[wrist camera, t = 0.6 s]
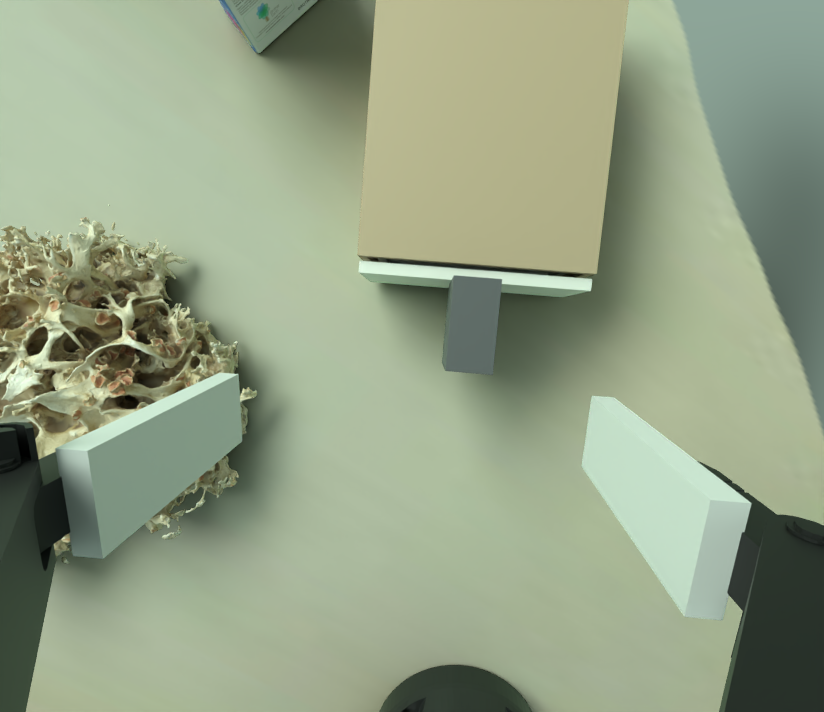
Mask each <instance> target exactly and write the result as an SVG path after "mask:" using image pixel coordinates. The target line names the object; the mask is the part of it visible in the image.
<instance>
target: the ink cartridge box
mask: <svg viewBox="0 0 824 712" xmlns="http://www.w3.org/2000/svg"><path fill="white" fill-rule="evenodd" d="M219 1H220V3H221V5H222V7H223V8H224V10H225V12H226V14H227V15H228V16H229V18H230V19H231V21H232V22H233V23H234V24H235V26H236V27H237V29H238V30H239V31H240V33H241V34H242V35H243V37H244V38H245V39H246V41H247V42H248V43H249V45H250V46H251V47H252V48H253V50H254V51H255V52H256V53H260V52H262V51H263V50H264V49H265V48H266V47H267V46H268V45H269V44H270V43H271V42H273V41H274V40H275V39H276V38H277V37H278V36H279V35H280V34H281V33H282V32H284V31H285V30H286V29H287V28H288V27H289V26H290V25H291V24H292V23H293V22H295V21H296V20H297V19H298V18H299V17H300V16H301V15H302V14H304V13H305V12H306V11H307V10H308V9H309V8H310V7H311V6H312V5H314V4H315V3H316V2H317V1H318V0H219Z"/></svg>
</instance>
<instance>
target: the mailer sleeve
mask: <svg viewBox="0 0 824 712" xmlns="http://www.w3.org/2000/svg"><path fill="white" fill-rule="evenodd" d="M628 3H629V0H376V5H375V19H374V33H373V46H372V60H371V74H370V88H369V102H368V116H367V129H366V143H365V157H364V171H363V185H362V199H361V212H360V226H359V240H358V254H357V255H358V256H359V257H360V258H361V259H362V260H363V261H371V262H380V261H379V260H378V259H377V258H383V259H396V260H409V261H421V262H434V263H447V264H460V265H472V266H485V267H498V268H511V269H523V270H536V271H549V272H562V273H568V274H565V275H563V276H561V277H574V278H585V277H588V276H591V275H595V274H597V268H598V260H599V251H600V243H601V234H602V226H603V217H604V208H605V200H606V191H607V183H608V174H609V166H610V157H611V149H612V140H613V131H614V123H615V114H616V106H617V97H618V89H619V80H620V72H621V63H622V54H623V46H624V37H625V29H626V20H627V12H628Z"/></svg>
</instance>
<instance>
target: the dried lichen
mask: <svg viewBox="0 0 824 712" xmlns="http://www.w3.org/2000/svg"><path fill="white" fill-rule="evenodd" d="M108 206H110V205H108ZM80 221H82V222H81V224H80V225H79V226H82V227H83V226H85V227H87V228H88V230H89V232H88V234H87V235H85V234H82V233H81V234H79V233H77V232H76V233H72V232H71V233H69V234H68V235H69V236H68V238H67V241H68V244H67V247H68V248H67V249H66V250H65V251H64V250H62V249H61V241H60V240H59V239H58V238H62V235H60V234H59V235H57V238H56V237H54V236H51V238H52V240H49V239H47V238H45V237H43V236H40V237H41V238H37V240H38V242H35V241H33V240H32V239H30V238H29V236H28V235H27V233H26V227H25V226H21V229H16V228H15V227H12V226H7V227H3V228H2V229H1V230H4V231H6V233H5V235H4V236H0V241H3V242H5V243H6V244H7V246H6V244H4V245H3V246H2V247H4V248H5V249H6V250H5V251H2V252H0V423H9V422H26V423H30V424H32V425H33V429H34V435H35V441H36V446H37V452H38V458H39V459H41V458H43V457H45V456H47V455H49V454H51V453H54V452H56V451H55V448H57V447H59V446H61V445H63V444H66V443H68V442H70V441H72V440H74V439H76V438H79V437H81V436H83V435H85V434H87V433H89V432H92V431H94V430H96V429H98V428H100V427H103V426H105V425H107V424H109V423H111V422H113V421H116V420H118V419H120V418H122V417H124V416H126V415H129V414H131V413H133V412H135V411H137V410H139V409H142V408H144V407H146V406H148V405H150V404H153V403H155V402H157V401H159V400H161V399H163V398H166V397H168V396H170V395H172V394H174V393H176V392H179V391H181V390H183V389H185V388H187V387H190V386H192V385H194V384H196V383H198V382H200V381H203V380H205V379H207V378H209V377H211V376H213V375H216V374H218V373H231V374H234V373H235V371H236V368H238V360H239V359H238V354H239V352H236V354H235V355H233V352H234V350H236V346H237V344H238V342H237V341H236V342H234V344H233V345H232V346H231V345H229V344H228V346H224V344H221V342H220V341H218V340H217V339H216V338H215V337H214V336H213V335H212V334H211V333H210V331H211V330H210V329H209V327H208V326H209V325H210V324H211V323H210V322H208V321H205V324H204V322H200V323H195V322H194V320H195V318H192V319H191V318H186V319H185V317H186V316H187V315H189V314H190V312H189V311H190V309H189V307H187V310H186V308H182V309H181V310H180V306H181V303H180V304H179V307H178V303H176V304H175V306H174V308H172V309H170V308H169V304H167V303H166V302H165V301H164V300H163V299H167V300H169V301H172V299H170V298H169V297H168V295H167V292H166V287H165V283H166V282H165V281H166V280H167V278H166V277H167V276H170V277H172V278H174V279H175V280H176V277H175V275H173V273H172V272H171V270H170V269H168V268H167V266H166V264H167V263H169V262H173V261H176V262H179V263H181V264H183V263H187V262H188V260H187V259H186V258H182V257H179V256H177V255H174V254H173V253H172V252H165V250H166V249H167V246H166V245H164V247H163V252H162V251H161V250H160V248H159V242H158V240H157V238H155V239H156V245H157V251H155V250H153V249H154V247H155V243H153V242H148V243H149V246H146V247H143V248H139V249H138V250H137V249H136V248H134V247H131V246H129V245H128V244H125V243H124V242H122V241H120V239H121V238H122V237H124V235H116V234H110V237H109V238H108V237H107V236H105V235H104V232H105V230H104V228H103V226H102V224H101V223H99V222H97V221H94V222H93V224H92V225H91V224H90V222H89V219H88V218H86V217H85V218H81V219H80ZM114 228H115V222H114V223H113V224H112V230H114ZM34 234H35V235H37V233H36V232H34ZM49 234H50V231H48V232H46V235H49ZM80 235H81V236H83V238H81V236H80ZM100 236H102V239H101V237H100ZM124 239H125V238H124ZM101 240H102V241H101ZM125 240H126V241H127V239H125ZM96 241H98V242H96ZM47 242H51V243H50V245H49V244H48V243H47ZM137 243H138V242H137ZM138 245H139V243H138ZM150 248H151V249H150ZM16 250H17V251H18V252H16ZM112 252H113V253H114V254H115V255H113V254H112ZM111 254H112V256H113V258H112V256H111ZM141 258H142V259H141ZM140 266H141V267H140ZM29 277H30V278H32V279H31V280H33V281H35V282H37V283H40V285H39V286H36V285H34V284H33V283H31V282H30V278H29ZM39 278H40V279H42V283H41V281H40V279H39ZM183 311H186V312H183ZM173 314H174V315H173ZM178 316H179V317H178ZM256 396H257V391H256V390H255V391H254V392H253V391H252V390H251V389H249V387H248V388H247V389H244V388H243V390H242V393H241V394H240V408H241V426H242V435H243V434H246V433H247V432H246V431H245V430H246V428H245V427H246V426H247V424H248V423H247V421H248V418H247V412H248V409H247V408H246V407H245V406H244V405H243V403H242V401H244V400H246V399H252V398H255V397H256ZM227 463H228V456H226V455H225V456H224V457H223V458H222V459H221V460H219V461H218V462H217V463H216V464H215V465H213V466H212V467H211V468H210V469H209V470H208V471H206V472H205V473H204V474H203V475H202V476H200V477H199V478H198V479H197V480H196V481H195V482H193V483H192V484H193V485H192V484H191V485H190V486H189V487H187V488H186V489H185V490H184V491H183V492H182V493H180V494H179V495H178V496H177V497H176V498H174V499H173V500H172V501H171V502H170V503H169V504H167V505H166V506H165V507H164V508H163V509H161V510H160V511H159V512H158V513H157V514H156V515H154V516H153V517H152V518H151V519H150V520H148V521H147V522H146V523H145V525H146V526H147V528H148V529H150V531H151V534H152V533H154V532H155V531H158V530H161V529H162V527H163V525H167V527H168V528H169V527H170V525H169V524H170V518H173V519H176V520H177V522H179V521H178V516H183V515H184V512H185V509H184V510H181V511H179V512H177V513H169V512H170V511H171V510H172V509H173V507H174V506H179V505H180V504H181V503H182V502H183V501H184V499H185V497H186V494H187V495H188V494H189V493H191V492H193V494H194V493H195V492H196V491H197V490H198V489H199V487H202V488H203V489H204V493H203V496H202V498H201V500H200V501H199V502H198V503H196V507H195V508H191V510H187V511H186V513H189V512H190V511H193V510H195V509H196V508H197V507H201V506H202V505H203V504H204V502H205V500H203V499H204V495H205V492H206V490H207V491H208V492H210V493H212V494H214V495H216V497H217V498H219V495H221V494H222V492H223V488H226V487H232V486H234V485H235V484H236V483H237V481H236V480H235V476H236V477H237V478H239V475H238V473H237V471H235V470H232V469H231V468H230V467H229V465H228V464H227ZM215 478H216V480H214V479H215ZM227 478H229V480H228V482H227V483H225V482H226V480H227ZM194 483H195V484H194ZM195 487H196V488H195ZM194 488H195V489H194ZM192 489H194V490H192ZM182 495H183V496H182ZM180 496H182V498H179V499H180V502H179V503H178V502H176V499H177V498H178V497H180ZM162 524H163V525H162ZM180 533H181V529H180V525H179V526H178V531H177V532H176V533H171V532H170V533H168V534H166V535H163V536H162V538H163V539H165V540H166V539H173V538H175V537H176V536H178V535H180ZM171 534H172V535H171ZM170 535H171V536H170ZM69 543H71V542H70V536H69V534H67V535H66V536H64V537H63V538H62V539H60V540H59V541H57V542H56V543H54V549H55V555H56V558H57V555H61V554H62V552H63V551H68V550H69V547H68V545H69ZM70 551H71V549H70ZM62 562H63V563H67V564H69V562H68V561H67V559H66V560H65V557H63V558H62Z"/></svg>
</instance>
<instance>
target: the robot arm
mask: <svg viewBox="0 0 824 712" xmlns="http://www.w3.org/2000/svg"><path fill="white" fill-rule="evenodd" d="M241 442H242V426H241V408H240V390H239V374H231V373H218V374H216V375H213V376H211V377H209V378H207V379H205V380H203V381H200V382H198V383H196V384H194V385H192V386H190V387H187V388H185V389H183V390H181V391H179V392H176V393H174V394H172V395H170V396H168V397H166V398H163V399H161V400H159V401H157V402H155V403H153V404H150V405H148V406H146V407H144V408H142V409H139V410H137V411H135V412H133V413H131V414H129V415H126V416H124V417H122V418H120V419H118V420H116V421H113V422H111V423H109V424H107V425H105V426H103V427H100V428H98V429H96V430H94V431H92V432H89V433H87V434H85V435H83V436H81V437H79V438H76V439H74V440H72V441H70V442H68V443H66V444H63V445H61V446H59V447H57V448H55V451H56V452H54V453H51V454H49V455H47V456H45V457H43V458H41V459H39V458H38V452H37V446H36V441H35V435H34V429H33V425H32V424H30V423H26V422H9V423H0V712H26V707H27V702H28V697H29V692H30V687H31V682H32V677H33V672H34V667H35V662H36V657H37V652H38V647H39V642H40V637H41V632H42V627H43V622H44V617H45V612H46V607H47V602H48V597H49V592H50V587H51V582H52V577H53V572H54V567H55V562H56V555H55V549H54V543H56V542H57V541H59V540H60V539H62V538H63V537H64V536H66V535H67V534H69V536H70V542H71V548H72V554H73V556H79V557H89V558H99V559H104V558H105V557H106V556H107V555H108V554H110V553H111V552H112V551H113V550H114V549H115V548H117V547H118V546H119V545H120V544H121V543H122V542H124V541H125V540H126V539H127V538H128V537H130V536H131V535H132V534H133V533H134V532H135V531H137V530H138V529H139V528H140V527H141V526H143V525H144V524H145V523H146V522H147V521H148V520H150V519H151V518H152V517H153V516H154V515H156V514H157V513H158V512H159V511H160V510H161V509H163V508H164V507H165V506H166V505H167V504H169V503H170V502H171V501H172V500H173V499H174V498H176V497H177V496H178V495H179V494H180V493H182V492H183V491H184V490H185V489H186V488H187V487H189V486H190V485H191V484H192V483H193V482H195V481H196V480H197V479H198V478H199V477H200V476H202V475H203V474H204V473H205V472H206V471H208V470H209V469H210V468H211V467H212V466H213V465H215V464H216V463H217V462H218V461H219V460H221V459H222V458H223V457H224V456H225V455H226V454H228V453H229V452H230V451H231V450H232V449H234V448H235V447H236V446H237V445H238V444H239V443H241ZM582 468H583V469H584V471H585V472H586V474H587V475H588V476H589V478H590V479H591V481H592V482H593V484H594V485H595V487H596V488H597V490H598V491H599V493H600V494H601V495H602V497H603V498H604V500H605V501H606V503H607V504H608V506H609V507H610V509H611V510H612V512H613V513H614V514H615V516H616V517H617V519H618V520H619V522H620V523H621V525H622V526H623V528H624V529H625V531H626V532H627V533H628V535H629V536H630V538H631V539H632V541H633V542H634V544H635V545H636V547H637V548H638V549H639V551H640V552H641V554H642V555H643V557H644V558H645V560H646V561H647V563H648V564H649V566H650V567H651V568H652V570H653V571H654V573H655V574H656V576H657V577H658V579H659V580H660V582H661V583H662V585H663V586H664V587H665V589H666V590H667V592H668V593H669V595H670V596H671V598H672V599H673V601H674V602H675V603H676V605H677V606H678V608H679V609H680V611H681V612H682V614H683V615H684V617H693V618H703V619H713V620H723V616H724V612H725V608H726V604H727V600H728V596H730V597H731V598H732V599H733V600H734V601H735V602H736V604H737V605H738V606H739V607H740V608H741V609H742V610H743V613H742V617H741V621H740V625H739V629H738V632H737V636H736V640H735V644H734V648H733V652H732V655H731V658H732V659H731V663H730V667H729V672H728V676H727V680H726V684H725V689H724V693H723V697H722V702H721V706H720V710H719V712H824V526H823V525H821V524H819V523H816V522H813V521H810V520H806V519H803V518H799V517H795V516H788V515H777V514H775V513H774V512H773V511H771V510H770V509H769V508H767V507H766V506H765V505H763V504H762V503H761V502H759V501H758V500H757V499H755V498H754V497H753V496H751V495H750V494H749V493H745V492H744V490H743V489H742V488H740V487H739V486H738V485H736V484H734V483H732V481H731V480H730V479H728V478H727V477H726V476H724V475H723V474H722V473H720V472H719V471H717V470H715V469H713V468H711V467H709V466H707V465H705V464H703V463H701V462H699V461H696V460H695V459H693V458H692V457H691V456H689V455H688V454H687V453H686V452H684V451H683V450H682V449H680V448H679V447H678V446H676V445H675V444H674V443H673V442H671V441H670V440H669V439H667V438H666V437H665V436H663V435H662V434H661V433H660V432H658V431H657V430H656V429H654V428H653V427H652V426H650V425H649V424H648V423H646V422H645V421H644V420H643V419H641V418H640V417H639V416H637V415H636V414H635V413H633V412H632V411H631V410H630V409H628V408H627V407H626V406H624V405H623V404H622V403H620V402H619V401H618V400H617V399H615V398H614V397H600V396H592V397H591V404H590V411H589V418H588V425H587V432H586V439H585V446H584V453H583V460H582ZM380 712H532V711H531V709H530V707H529V706H528V704H527V703H526V701H525V700H524V699H523V697H522V696H521V695H520V694H519V693H518V692H517V691H516V690H515V689H514V688H513V687H512V686H511V685H510V684H508V683H507V682H505V681H504V680H502V679H501V678H499V677H497V676H496V675H494V674H492V673H489V672H487V671H484V670H481V669H478V668H474V667H469V666H461V665H447V666H439V667H434V668H430V669H427V670H424V671H421V672H419V673H417V674H415V675H413V676H411V677H409V678H408V679H406V680H405V681H403V682H402V683H401V684H400V685H399V686H397V687H396V688H395V689H394V690H393V691H392V693H391V694H390V695H389V696H388V698H387V699H386V700H385V702H384V704H383V705H382V707H381V710H380Z"/></svg>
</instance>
